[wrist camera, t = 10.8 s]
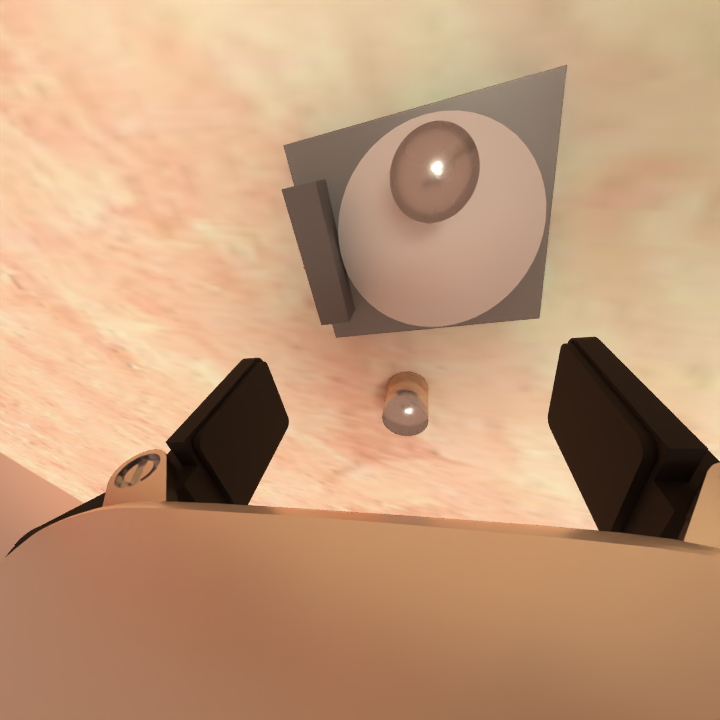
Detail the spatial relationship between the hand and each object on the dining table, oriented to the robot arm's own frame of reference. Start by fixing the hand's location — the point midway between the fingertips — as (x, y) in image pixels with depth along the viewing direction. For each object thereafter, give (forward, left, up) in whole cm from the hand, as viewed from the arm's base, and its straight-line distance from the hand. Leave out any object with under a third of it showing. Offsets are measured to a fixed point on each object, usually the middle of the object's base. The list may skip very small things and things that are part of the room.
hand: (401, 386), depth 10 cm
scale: (-1, 0, -19) cm, 19 cm away
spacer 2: (-5, +2, -15) cm, 16 cm away
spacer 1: (+15, -3, -19) cm, 24 cm away
